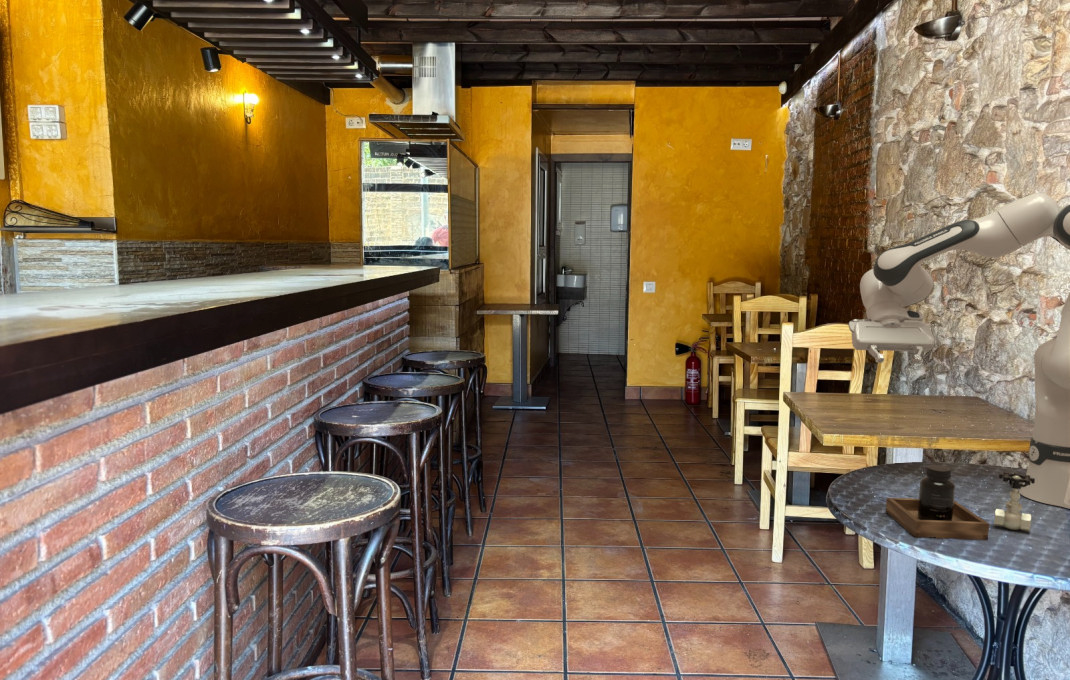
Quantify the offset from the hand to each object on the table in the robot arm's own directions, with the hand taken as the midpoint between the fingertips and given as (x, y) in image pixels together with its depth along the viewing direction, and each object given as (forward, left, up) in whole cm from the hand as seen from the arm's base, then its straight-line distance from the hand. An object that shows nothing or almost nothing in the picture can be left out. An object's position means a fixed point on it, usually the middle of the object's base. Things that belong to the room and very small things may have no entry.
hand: (898, 361), depth 197 cm
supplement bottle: (+4, +33, -31) cm, 45 cm away
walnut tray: (+4, +33, -31) cm, 46 cm away
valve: (-12, +34, -32) cm, 48 cm away
